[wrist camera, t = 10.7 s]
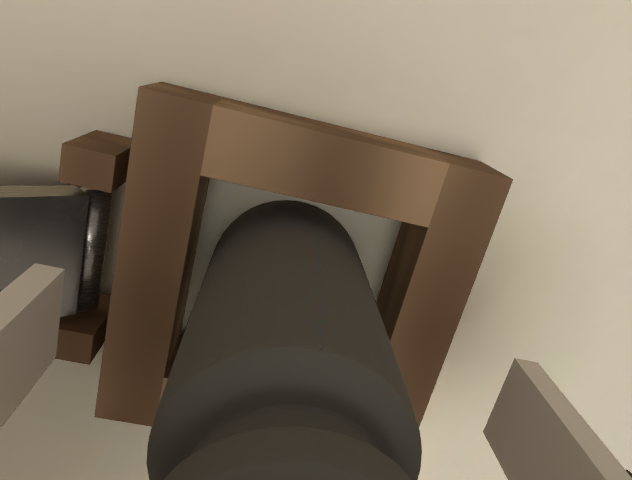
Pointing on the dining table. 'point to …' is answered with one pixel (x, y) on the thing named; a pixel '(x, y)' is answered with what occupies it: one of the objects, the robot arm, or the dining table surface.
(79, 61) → the dining table surface
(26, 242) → the bar
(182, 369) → the bottle
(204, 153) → the socket block
